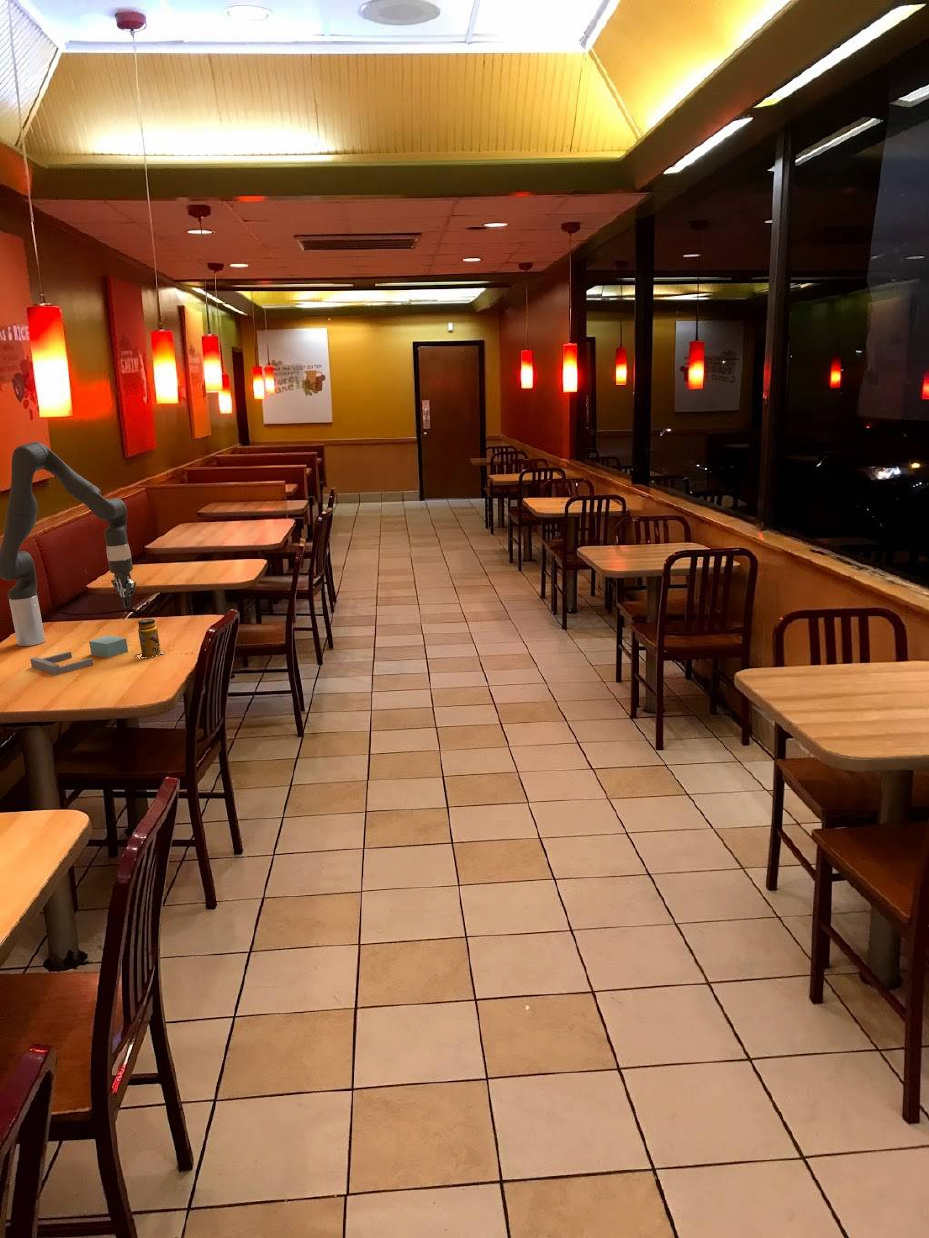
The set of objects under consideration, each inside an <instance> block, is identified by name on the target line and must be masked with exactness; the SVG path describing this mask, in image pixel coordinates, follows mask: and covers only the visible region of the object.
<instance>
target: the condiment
mask: <svg viewBox="0 0 929 1238" xmlns="http://www.w3.org/2000/svg"><path fill="white" fill-rule="evenodd" d="M137 624H138V630H137V631H138V638H139V644H140V645H139V646H140V649H141V653H136V654H133V656H134V658H136V657H137V655H140V654H142V656H141V657H144V658H141V657H140V659H139V658H138V657H137V658H136V659H137V660H139V661H140V660H145V657H148V658H153V657H152V656H155V657H157V656H156V655H159V654H164V653H163V652H162V651H161V643H160V638H159V632H158V627H157V626H156V620H155V619H154V618H143V619H140V620H139V621H138V623H137ZM148 658H147V659H148Z"/></svg>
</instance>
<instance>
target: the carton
mask: <svg viewBox="0 0 929 1238" xmlns="http://www.w3.org/2000/svg"><path fill="white" fill-rule="evenodd" d="M127 642H128V641H127V638H125V637H121V636H116V635H115V636H113V635H109V634H108V635H105V636H103V637H99V638H94V639H91V640H89V641H88V644H89V649H90V655H91V654H93V656H96V655H97V657H102V658H107V657H108V659H110V657H111V658H113V656H114V657H116V655H117V656H119V655H118V654H120V655H123V654H126V653H129V649H128V643H127Z"/></svg>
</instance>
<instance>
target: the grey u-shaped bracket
mask: <svg viewBox="0 0 929 1238" xmlns="http://www.w3.org/2000/svg"><path fill="white" fill-rule="evenodd" d="M72 658H73V655H72V651H65V652H61V653H58V654H54V655H51V656H45V657H43V658H41V657H37V656H35V657H30V658H29V660H30V664H31V665H30V666H31V668H32V667H33V668H32V669H35V670H38V671H41V672H43V673H47V674H49V673H50V674H49V675H53V676H57V675H60V673H62V674H64V673H65V674H66V673H69V672H71V671H76V670H79V668H80V669H84V668H86V667H90V666H94V665H93V664H94V659H93V658H92V657H89V658H86V659H83V660H78V661H76V662H70V663H68V664H64V665H60V664H57V662H61V661H64V660H65V661H66V660H69V659H72Z"/></svg>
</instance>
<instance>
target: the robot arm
mask: <svg viewBox="0 0 929 1238" xmlns="http://www.w3.org/2000/svg"><path fill="white" fill-rule="evenodd" d="M41 470H44V471H47V472H49V473H50V474H52V475H53V476H55V477H56V478H57V480H58V481H60V483H61V485H62V486H63V488H64V490H65V491H66V492H67V493H68V494H69V495H70V496H71V497H73V498H75V499H76V500H77V501H79V502H81V503H82V504H84V505H85V506H86V507H87V508H88V509H89V510H90V512H92V514H94V515H95V516H96V517H97V518H98V519H99V520H101V521H105V522H108V526H107V528H105V530H104V540H105V547H106V556H107V564H108V568H109V573H111V574H114V575H113V577H114V578H113V579H112V580H111V581H110V582H111V584H112V586H113V587H114V590H115V592H116V593H117V595H118V596H119V595H120V597H121V600H122V606H123V608H125V609H130V608H132V602H131V601H132V600H131V597H132V596H133V595H134V593H135V590H136V586H137V582H136V581H133V579H132V576H131V572H132V571H133V570H134V566H133V559H132V552H131V549H130V545H129V541H128V534H127V528H128V527H127V526H128V525H127V524H128V508H127V506H126V503H125V502H124V501H123V499H121V498H119V497H111V498H108V499H107V498H105V497H103V496H102V491H101V489H100V488H99V487H98V486H96V485H94V484H93V483H92V482H91V481H88V480H87V479H85V478H84V477H83V476H81V475H79V474H78V473H77V472H76V471H74V470H73V469H72V468H71V467H70V466H69V465H67V464H66V462H64V461H63V460H62V459H61V457H59V456H58V455H57V454H56V453H55V452H54V451H52V449H50V448H49V447H48V446H47V445H45V444H44V443H42V442H39V441H32V442H28V443H26V444H25V443H24V444H21V445H19V446H17V447H16V448H15V449H14V450H13V452H12V457H11V475H10V476H11V480H10V482H11V483H10V487H9V488H10V489H9V490H10V491H9V496H8V497H9V499H8V504H7V509H6V510H7V511H6V517H5V518H6V519H5V526H4V532H3V538H2V542H1V545H0V578H1V579H2V580H4V581H14V580H16V583H15V584H14V586H12V587H11V588H10V589H8V591H7V597H8V601H9V607H10V611H11V617H12V623H13V627H14V628H13V629H14V632H15V638H16V644H17V646H19V647H30V646H36V645H39V644H43V643H45V642H46V637H45V631H44V625H43V621H42V620H43V619H42V615H41V609H40V603H39V599H38V598H39V597H38V593H37V589H38V584H37V574H36V567H35V563H34V559H33V557H32V556H31V555H32V554H30V553H29V552H27V551H25V550H20V549H21V546H22V544H23V543H24V542H25V540H26V539H27V538H28V536H29V535H30V534H31V533H32V531H33V529H34V528H35V525H36V522H37V517H38V510H39V508H38V503H37V499H36V497H35V495H34V492H33V481H34V476H35V473H36V472H38V471H41Z"/></svg>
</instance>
